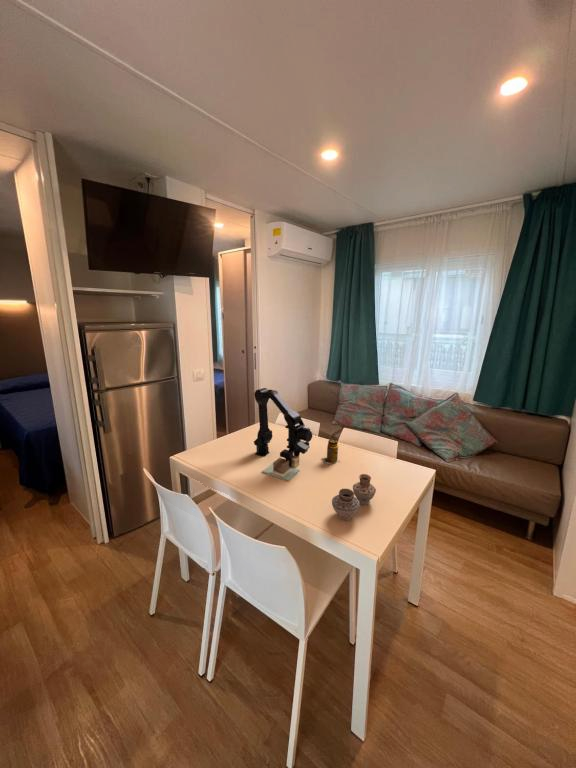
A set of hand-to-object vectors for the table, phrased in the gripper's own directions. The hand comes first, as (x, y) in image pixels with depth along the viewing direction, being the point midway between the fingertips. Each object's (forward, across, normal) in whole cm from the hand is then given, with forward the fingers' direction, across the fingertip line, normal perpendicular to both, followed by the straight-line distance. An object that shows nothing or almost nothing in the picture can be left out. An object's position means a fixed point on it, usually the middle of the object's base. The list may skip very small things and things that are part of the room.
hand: (293, 463), depth 164 cm
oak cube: (+2, 0, 0) cm, 2 cm away
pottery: (+2, -18, -41) cm, 45 cm away
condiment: (+2, +17, -15) cm, 23 cm away
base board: (+1, -9, +2) cm, 9 cm away
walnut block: (0, -9, +2) cm, 9 cm away
